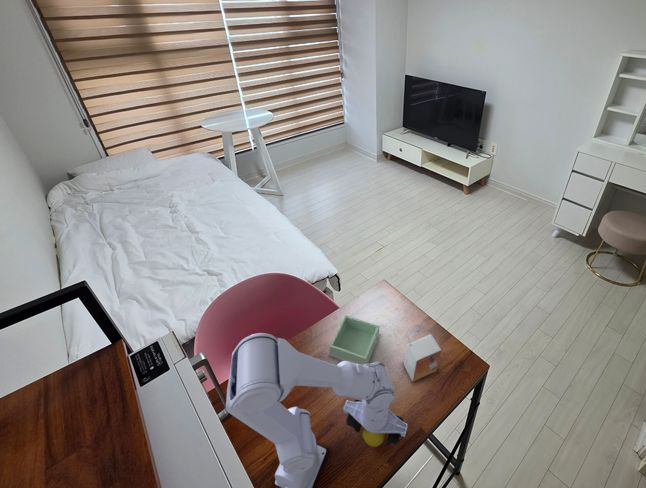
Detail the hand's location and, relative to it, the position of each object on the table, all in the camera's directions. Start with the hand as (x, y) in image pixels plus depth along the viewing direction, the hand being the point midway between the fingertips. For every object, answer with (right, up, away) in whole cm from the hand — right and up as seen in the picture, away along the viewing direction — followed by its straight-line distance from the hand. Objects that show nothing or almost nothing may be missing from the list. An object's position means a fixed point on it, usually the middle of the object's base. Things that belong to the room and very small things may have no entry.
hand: (374, 433), depth 78 cm
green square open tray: (-6, +12, +21) cm, 25 cm away
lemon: (0, -2, +2) cm, 3 cm away
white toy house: (+13, +7, +16) cm, 22 cm away
